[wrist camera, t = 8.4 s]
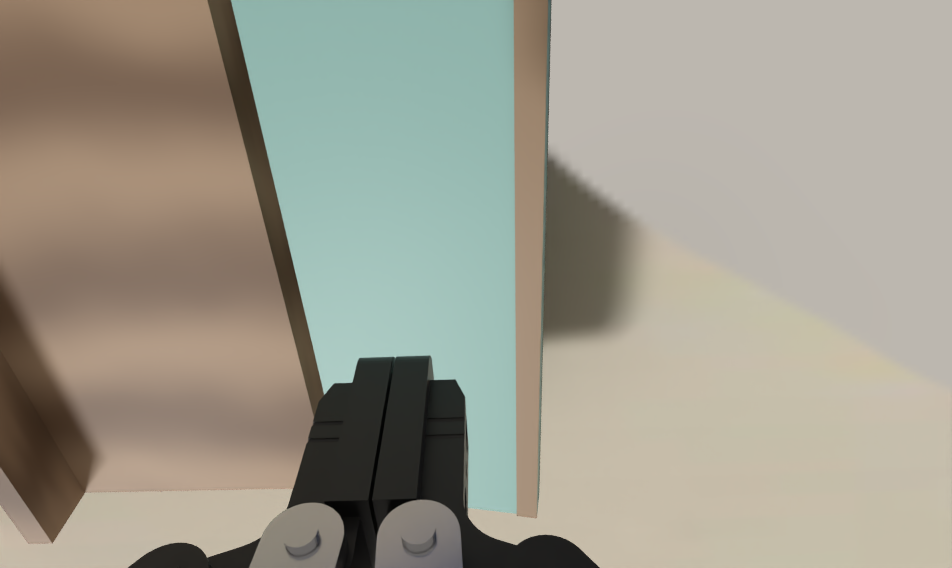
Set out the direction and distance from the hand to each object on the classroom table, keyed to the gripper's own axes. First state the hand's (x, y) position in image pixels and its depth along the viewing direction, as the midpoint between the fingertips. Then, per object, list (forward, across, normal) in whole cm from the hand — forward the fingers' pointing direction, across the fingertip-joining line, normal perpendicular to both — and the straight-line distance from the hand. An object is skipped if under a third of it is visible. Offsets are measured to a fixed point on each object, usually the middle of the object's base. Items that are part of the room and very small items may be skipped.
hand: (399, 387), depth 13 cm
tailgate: (+8, +4, +2) cm, 9 cm away
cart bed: (+12, +11, +2) cm, 17 cm away
